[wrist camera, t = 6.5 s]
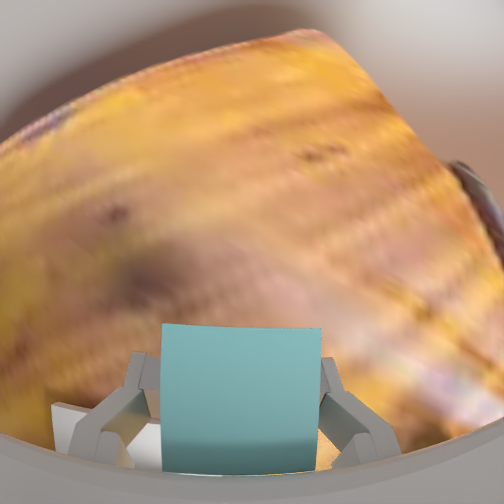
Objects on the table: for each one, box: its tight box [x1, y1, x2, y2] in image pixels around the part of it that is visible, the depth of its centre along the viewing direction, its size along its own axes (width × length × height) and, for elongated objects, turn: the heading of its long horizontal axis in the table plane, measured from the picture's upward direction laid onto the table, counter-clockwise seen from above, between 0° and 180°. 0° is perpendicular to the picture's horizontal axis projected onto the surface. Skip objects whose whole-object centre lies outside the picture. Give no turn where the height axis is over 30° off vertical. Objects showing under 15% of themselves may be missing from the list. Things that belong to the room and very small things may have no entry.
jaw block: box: [160, 323, 321, 475], centre depth 11 cm, size 4×4×8 cm
